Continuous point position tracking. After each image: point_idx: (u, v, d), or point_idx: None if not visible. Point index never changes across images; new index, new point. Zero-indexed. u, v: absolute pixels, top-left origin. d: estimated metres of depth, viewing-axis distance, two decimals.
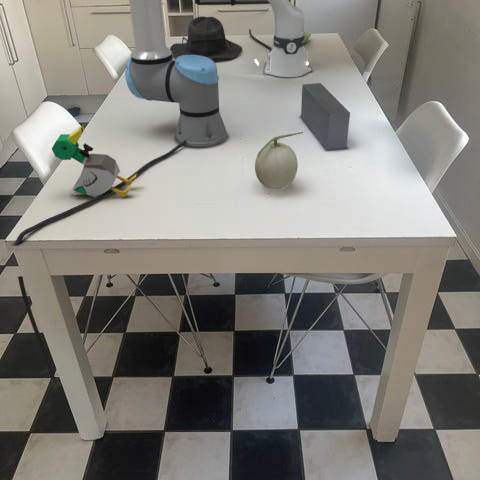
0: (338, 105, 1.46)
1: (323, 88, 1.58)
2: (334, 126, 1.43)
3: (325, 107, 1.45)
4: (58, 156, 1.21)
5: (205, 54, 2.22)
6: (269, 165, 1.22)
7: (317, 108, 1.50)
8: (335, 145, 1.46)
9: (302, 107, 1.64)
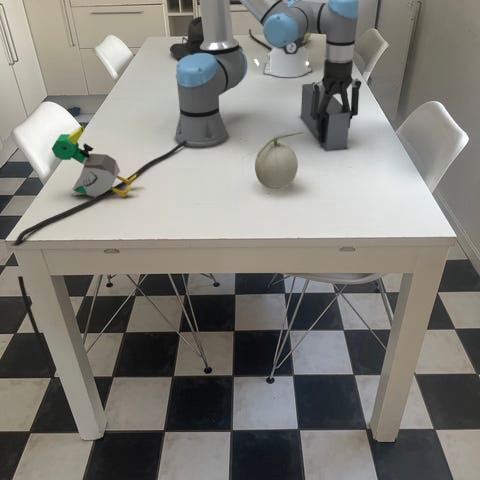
0: (338, 105, 1.46)
1: (323, 88, 1.58)
2: (334, 126, 1.43)
3: None
4: (58, 156, 1.21)
5: None
6: (269, 165, 1.22)
7: None
8: (335, 145, 1.46)
9: (302, 107, 1.64)
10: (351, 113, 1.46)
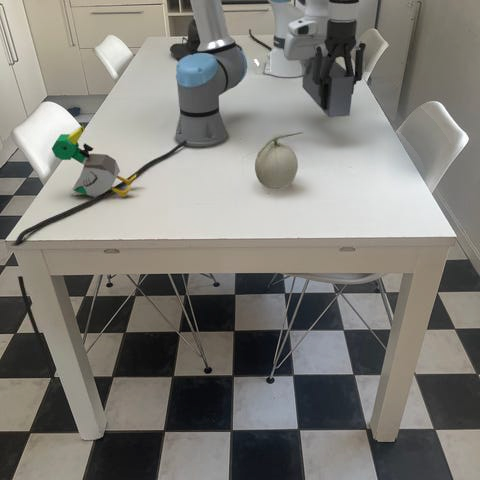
0: (341, 70, 1.40)
1: None
2: (337, 91, 1.37)
3: None
4: (58, 156, 1.21)
5: None
6: (269, 165, 1.22)
7: None
8: (338, 112, 1.41)
9: (304, 76, 1.59)
10: (355, 78, 1.40)
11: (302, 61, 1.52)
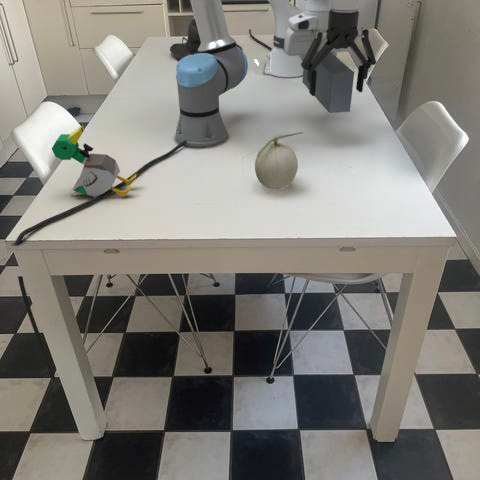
0: (342, 65, 1.40)
1: None
2: (337, 86, 1.37)
3: (328, 67, 1.39)
4: (58, 156, 1.21)
5: None
6: (269, 165, 1.22)
7: (320, 70, 1.44)
8: (338, 107, 1.40)
9: (304, 71, 1.58)
10: (369, 62, 1.37)
11: (302, 56, 1.51)
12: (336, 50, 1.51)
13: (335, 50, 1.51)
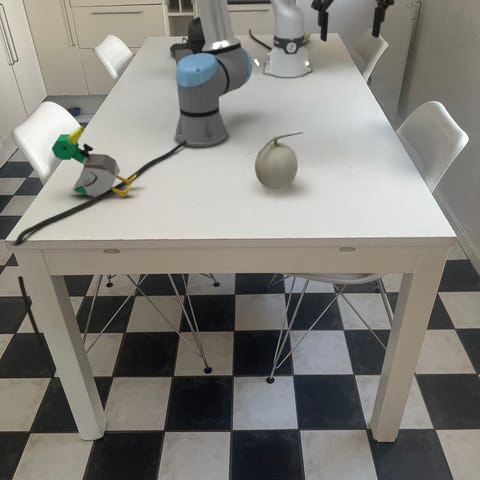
0: None
1: (190, 52, 1.94)
2: None
3: None
4: (58, 156, 1.21)
5: None
6: (269, 165, 1.22)
7: None
8: None
9: None
10: (386, 2, 1.24)
11: None
12: None
13: None
